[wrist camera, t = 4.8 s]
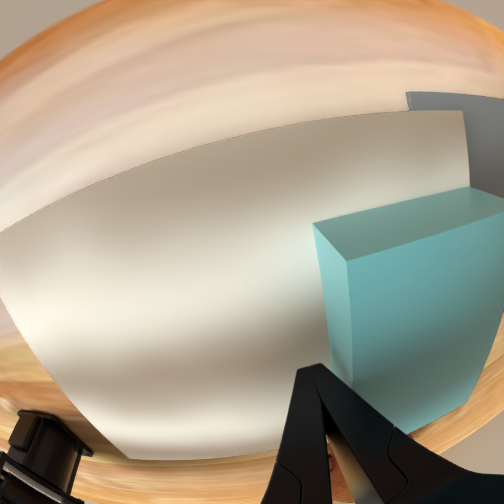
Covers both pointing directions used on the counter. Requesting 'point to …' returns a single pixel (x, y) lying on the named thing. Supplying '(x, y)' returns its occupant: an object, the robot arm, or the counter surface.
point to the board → (209, 276)
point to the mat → (474, 133)
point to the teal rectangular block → (414, 300)
